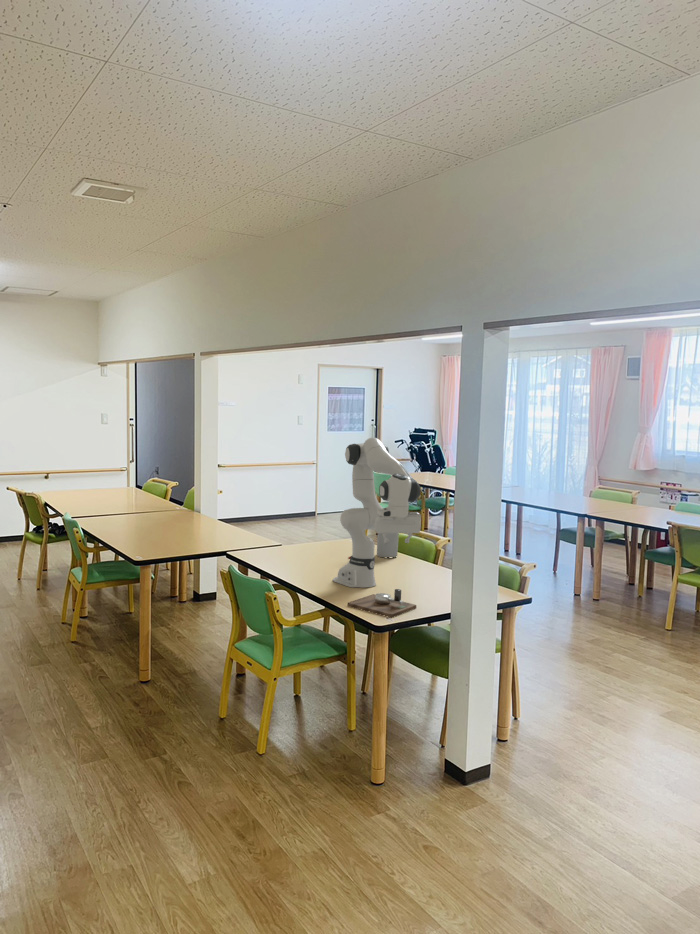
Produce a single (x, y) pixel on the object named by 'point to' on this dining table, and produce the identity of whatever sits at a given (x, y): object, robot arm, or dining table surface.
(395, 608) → the board
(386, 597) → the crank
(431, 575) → the dining table surface
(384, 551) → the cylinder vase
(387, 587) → the dining table surface
